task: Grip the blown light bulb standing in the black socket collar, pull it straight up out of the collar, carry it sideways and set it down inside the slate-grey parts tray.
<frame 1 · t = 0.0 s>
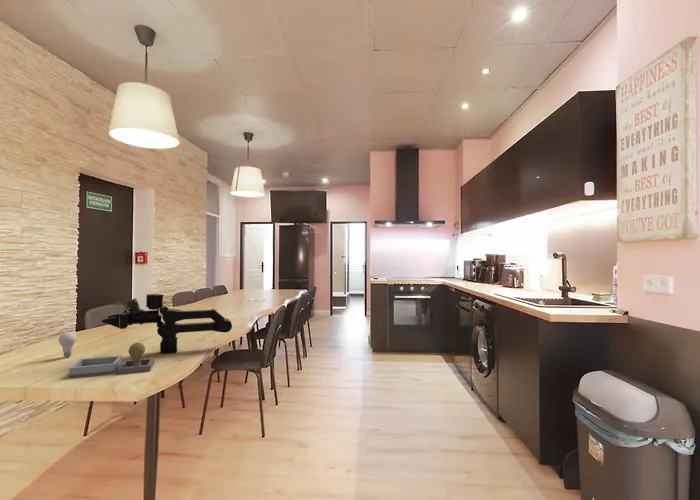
hand: (105, 319, 153), 17 cm above the table, tool horizontal, fingers open, 9 cm apart
parts tray: (97, 370, 135), on the table
lightbulb: (67, 357, 152), on the table
socket collar: (136, 368, 139), on the table
light bulb: (136, 368, 139), resting in socket collar
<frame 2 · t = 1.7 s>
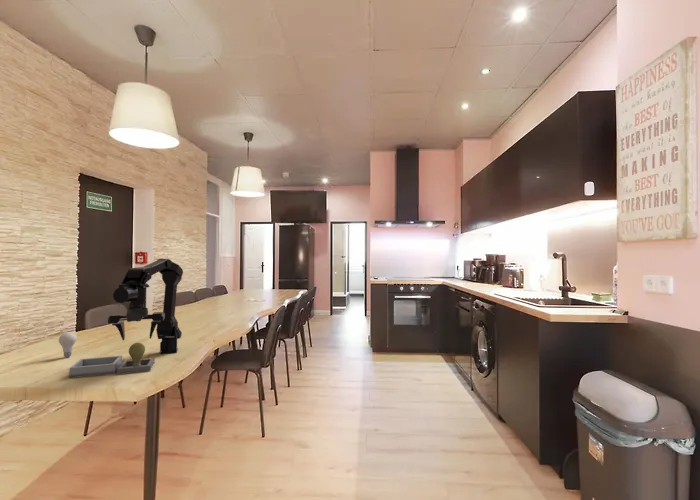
hand: (137, 339, 139), 11 cm above the table, tool pointing down, fingers open, 9 cm apart
nothing on the table moved.
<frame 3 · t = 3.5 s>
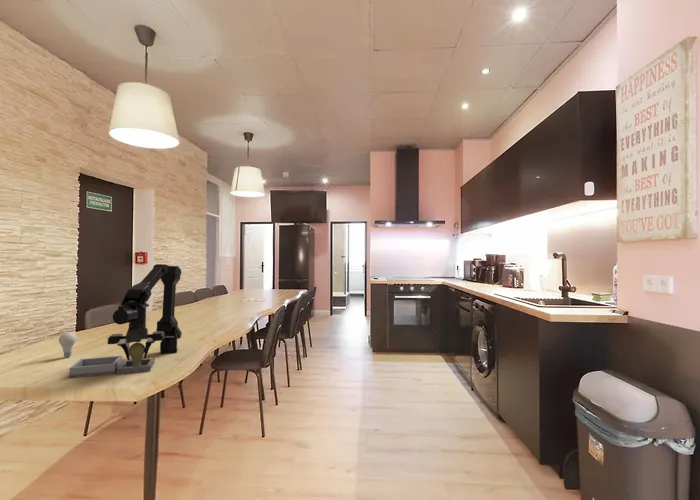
hand: (136, 359, 139), 4 cm above the table, tool pointing down, fingers closed on light bulb, 5 cm apart
light bulb: (136, 368, 139), resting in socket collar, touching gripper
everything else where it was.
when the fingers open (6 cm above the table, at t = 8.0 s): light bulb drops 2 cm, resting on parts tray.
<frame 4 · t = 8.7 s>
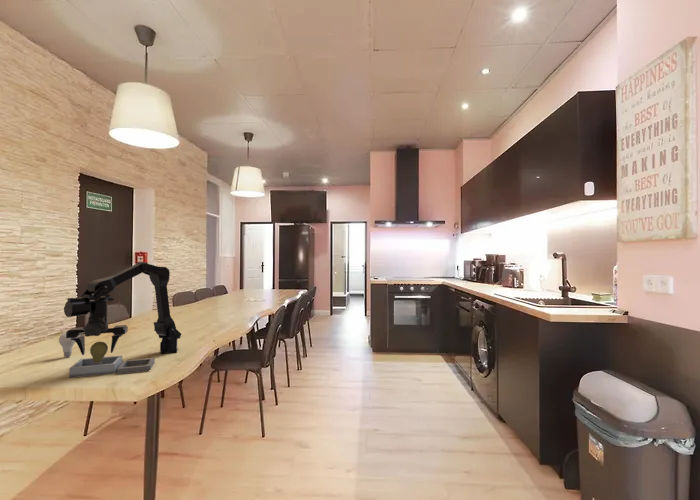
hand: (97, 353, 136), 6 cm above the table, tool pointing down, fingers open, 9 cm apart
light bulb: (97, 368, 135), point 1 cm above the table, touching parts tray
everything else where it was.
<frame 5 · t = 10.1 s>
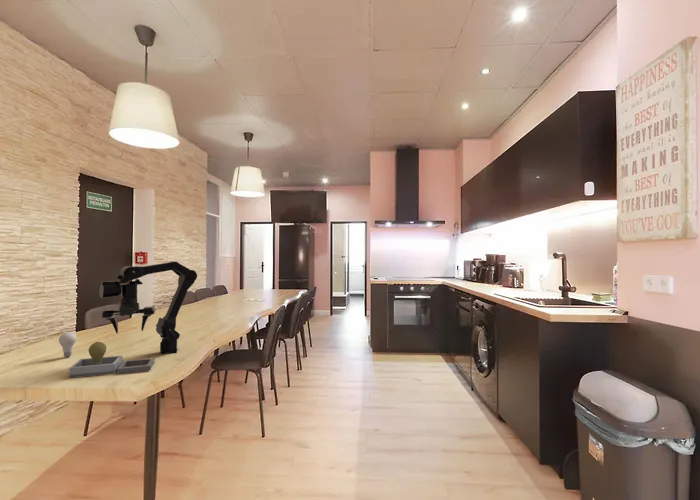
hand: (129, 332, 150), 12 cm above the table, tool pointing down, fingers open, 9 cm apart
nothing on the table moved.
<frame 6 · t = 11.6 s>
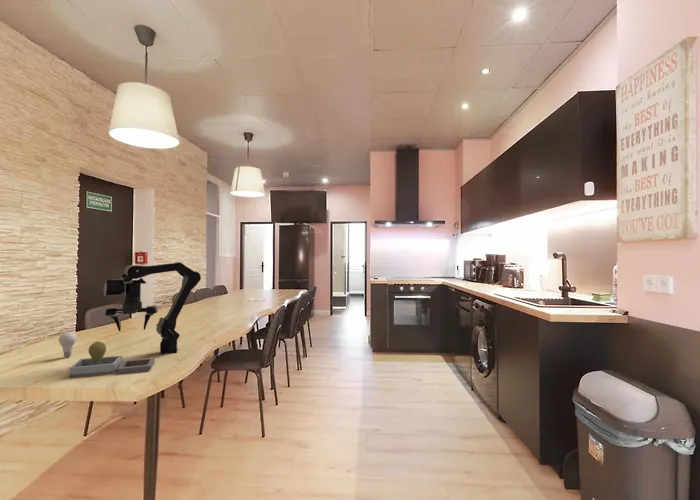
hand: (132, 330, 152), 12 cm above the table, tool pointing down, fingers open, 9 cm apart
nothing on the table moved.
at the end: light bulb inside the target area on the parts tray (0.1 cm from its centre), point 0.8 cm above the parts tray's base; the gripper is holding nothing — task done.
